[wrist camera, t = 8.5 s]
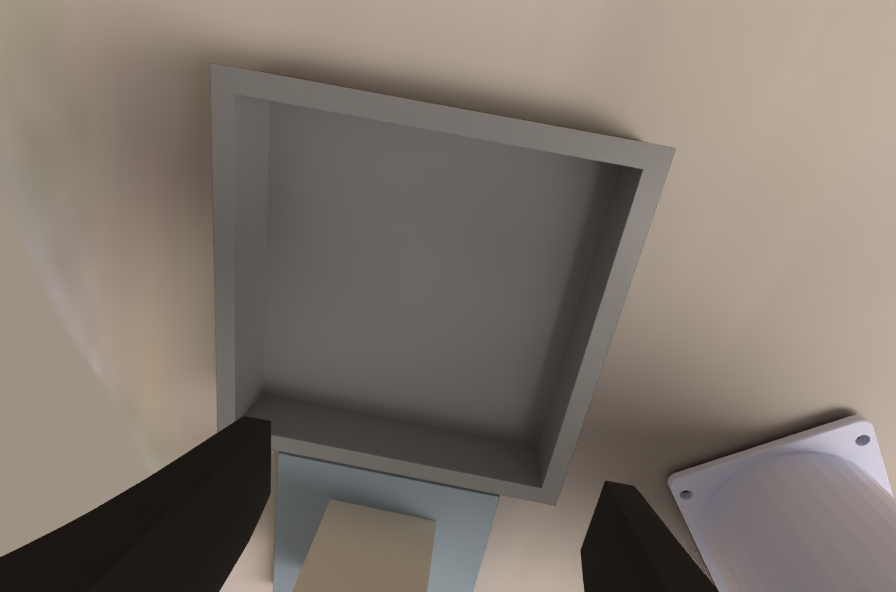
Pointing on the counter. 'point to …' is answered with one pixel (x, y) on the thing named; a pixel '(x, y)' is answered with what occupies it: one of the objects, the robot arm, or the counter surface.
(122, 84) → the counter surface
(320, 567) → the block
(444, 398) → the gray square tray
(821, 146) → the counter surface
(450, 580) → the mat
